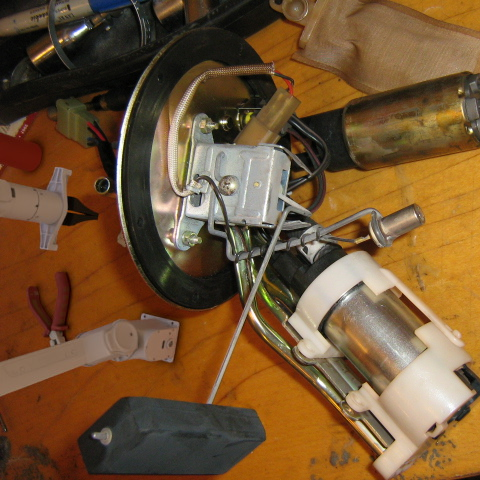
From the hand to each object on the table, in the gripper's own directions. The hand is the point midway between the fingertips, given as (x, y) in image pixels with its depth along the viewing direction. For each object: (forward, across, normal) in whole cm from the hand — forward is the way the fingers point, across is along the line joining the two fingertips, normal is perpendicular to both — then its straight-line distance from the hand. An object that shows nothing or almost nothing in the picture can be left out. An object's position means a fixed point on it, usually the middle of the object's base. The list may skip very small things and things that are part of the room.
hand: (94, 216), depth 88 cm
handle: (+8, +5, 0) cm, 9 cm away
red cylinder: (+10, -12, -35) cm, 38 cm away
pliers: (+10, +24, -18) cm, 32 cm away
